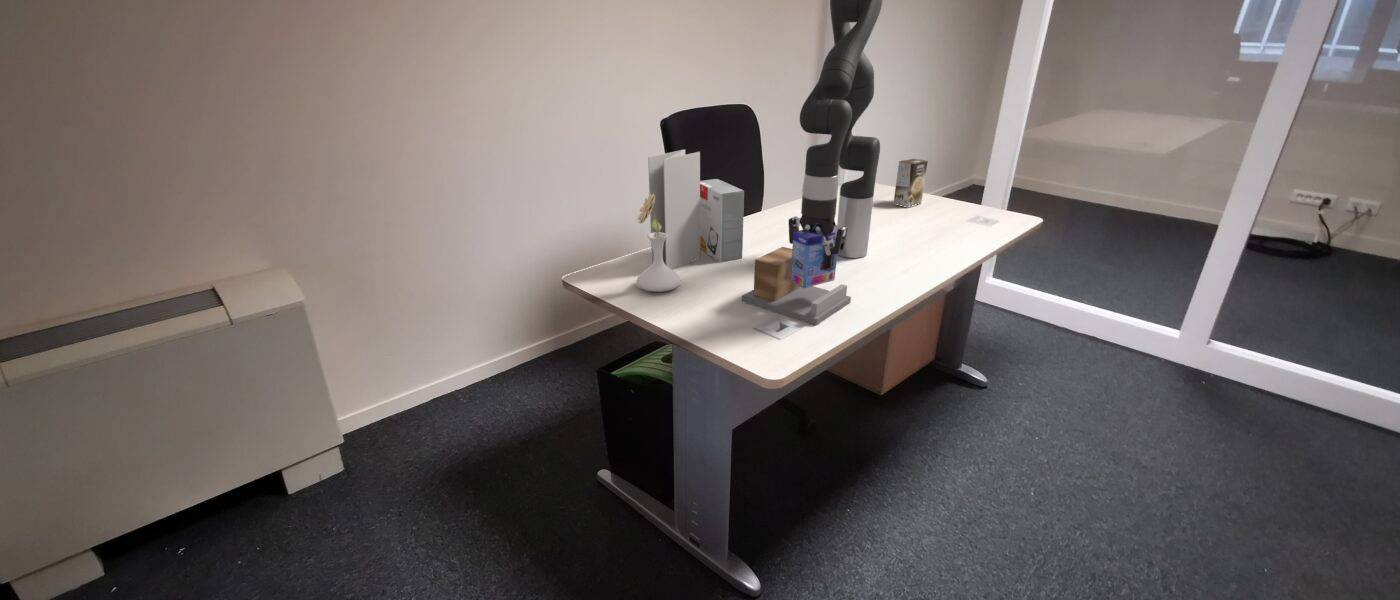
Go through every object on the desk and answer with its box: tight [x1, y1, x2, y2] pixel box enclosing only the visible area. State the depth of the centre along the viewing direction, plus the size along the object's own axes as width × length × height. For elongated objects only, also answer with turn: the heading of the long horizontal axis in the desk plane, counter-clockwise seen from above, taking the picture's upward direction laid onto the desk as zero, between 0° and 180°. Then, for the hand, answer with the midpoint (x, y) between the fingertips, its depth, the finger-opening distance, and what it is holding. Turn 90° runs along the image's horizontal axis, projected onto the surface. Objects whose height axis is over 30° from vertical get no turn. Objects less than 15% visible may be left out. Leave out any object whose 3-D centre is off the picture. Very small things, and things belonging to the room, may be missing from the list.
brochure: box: [647, 149, 701, 270], centre depth 168 cm, size 14×6×30 cm, turn 141°
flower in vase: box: [635, 193, 682, 293], centre depth 152 cm, size 13×11×25 cm
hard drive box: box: [700, 178, 745, 263], centre depth 178 cm, size 16×8×20 cm, turn 27°
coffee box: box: [892, 158, 929, 208], centre depth 227 cm, size 9×6×16 cm
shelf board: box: [741, 284, 852, 326], centre depth 149 cm, size 16×20×4 cm
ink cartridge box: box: [790, 223, 838, 288], centre depth 141 cm, size 10×6×14 cm, turn 123°
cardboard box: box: [753, 246, 800, 301], centre depth 150 cm, size 12×6×9 cm, turn 140°
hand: (814, 265), depth 143 cm, fingers closed on ink cartridge box, 6 cm apart
